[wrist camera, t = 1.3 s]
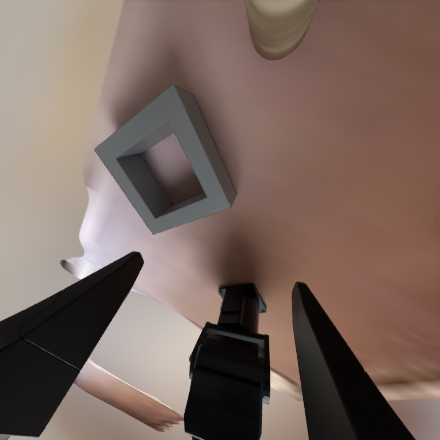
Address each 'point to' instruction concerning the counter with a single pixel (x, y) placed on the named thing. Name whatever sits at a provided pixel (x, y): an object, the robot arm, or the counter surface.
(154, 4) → the counter surface
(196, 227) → the counter surface
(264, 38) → the birch peg
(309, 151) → the counter surface
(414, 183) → the counter surface
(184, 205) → the frame
